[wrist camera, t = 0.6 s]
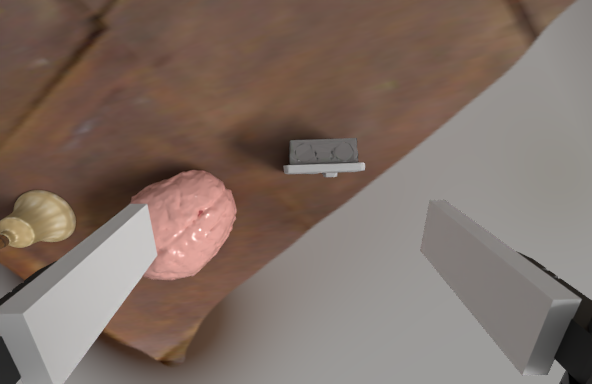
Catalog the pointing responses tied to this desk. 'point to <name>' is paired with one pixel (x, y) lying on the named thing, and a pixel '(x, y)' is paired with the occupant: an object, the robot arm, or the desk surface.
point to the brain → (187, 222)
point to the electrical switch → (323, 157)
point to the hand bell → (37, 220)
